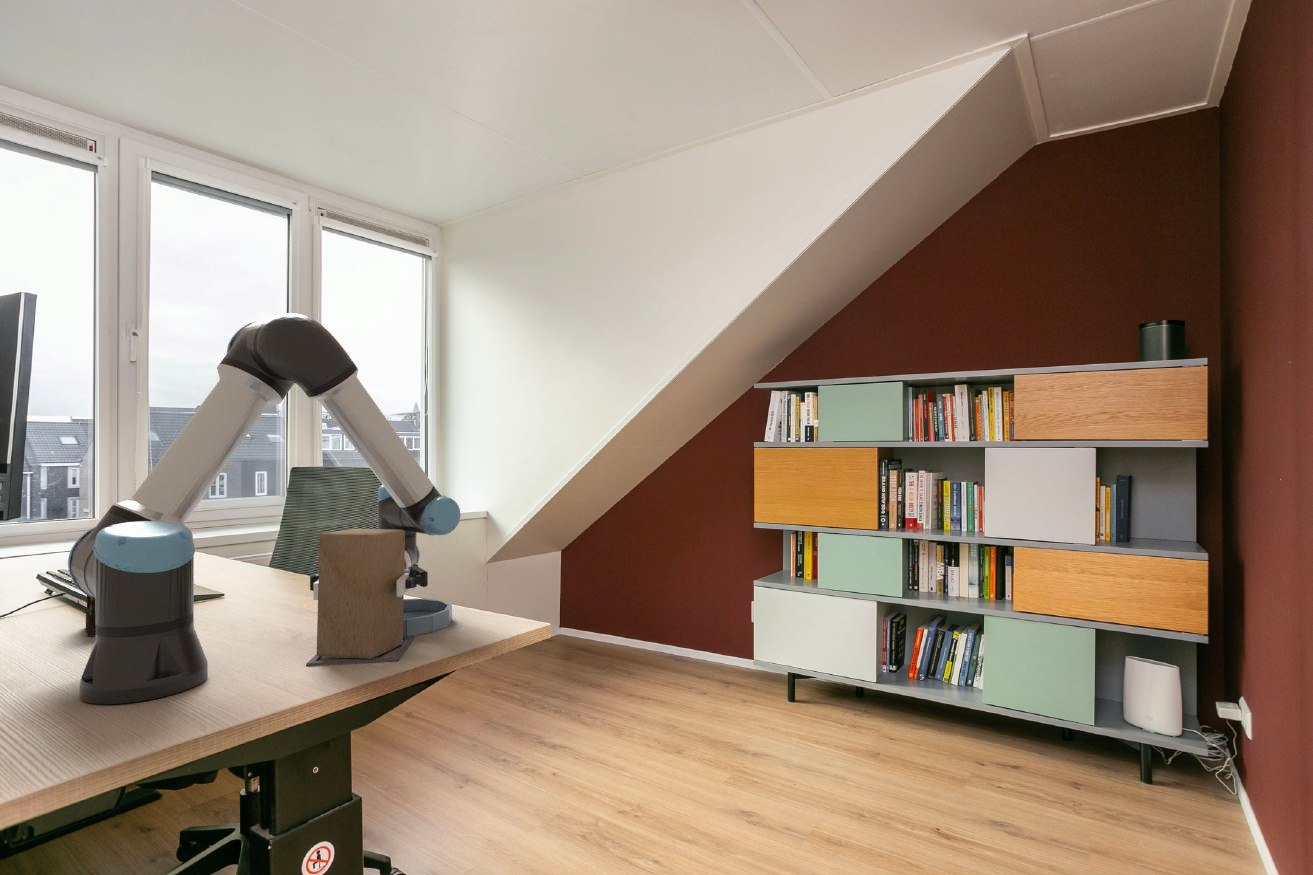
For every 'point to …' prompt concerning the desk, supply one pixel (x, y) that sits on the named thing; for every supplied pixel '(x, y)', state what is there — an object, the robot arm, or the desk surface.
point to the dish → (425, 615)
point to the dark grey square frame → (397, 657)
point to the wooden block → (360, 593)
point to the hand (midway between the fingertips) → (357, 590)
